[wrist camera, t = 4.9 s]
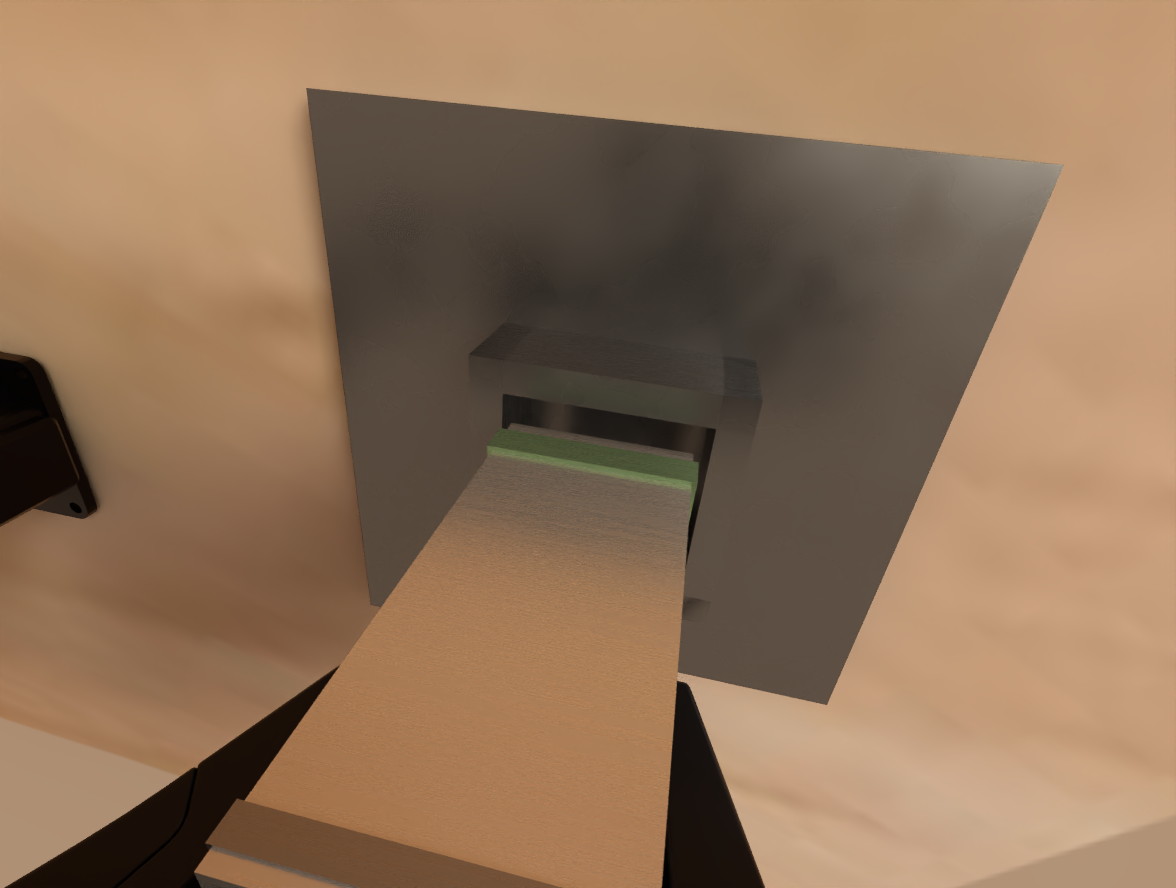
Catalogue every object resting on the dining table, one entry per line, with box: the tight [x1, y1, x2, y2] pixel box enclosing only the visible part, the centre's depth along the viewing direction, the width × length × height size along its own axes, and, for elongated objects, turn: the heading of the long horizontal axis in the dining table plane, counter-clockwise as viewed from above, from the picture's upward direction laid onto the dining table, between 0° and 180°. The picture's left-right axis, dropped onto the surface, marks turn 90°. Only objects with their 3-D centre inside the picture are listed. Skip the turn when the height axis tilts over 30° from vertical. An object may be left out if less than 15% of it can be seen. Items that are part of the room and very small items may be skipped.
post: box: [194, 423, 699, 888], centre depth 10 cm, size 4×4×9 cm
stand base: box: [306, 88, 1064, 705], centre depth 16 cm, size 16×16×4 cm
